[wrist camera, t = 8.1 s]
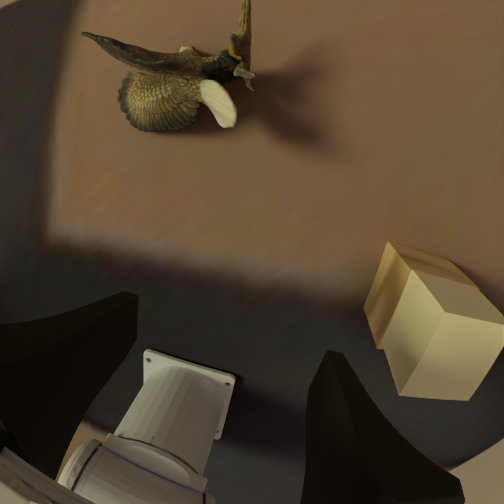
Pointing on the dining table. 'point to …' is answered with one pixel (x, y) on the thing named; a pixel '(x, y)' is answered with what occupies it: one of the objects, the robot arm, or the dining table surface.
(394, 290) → the oak base block
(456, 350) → the cream block
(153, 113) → the eagle figurine
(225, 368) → the dining table surface
